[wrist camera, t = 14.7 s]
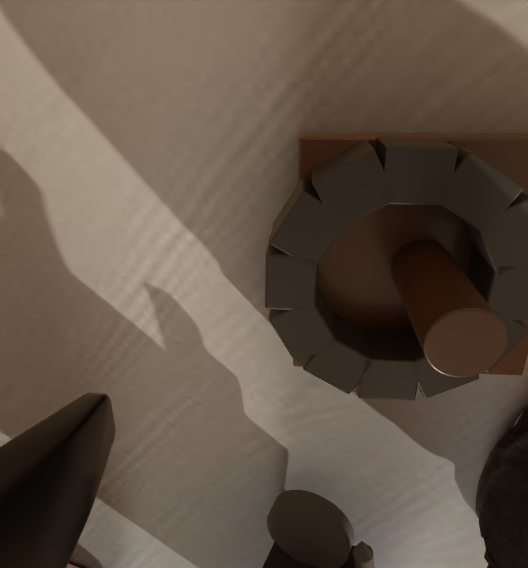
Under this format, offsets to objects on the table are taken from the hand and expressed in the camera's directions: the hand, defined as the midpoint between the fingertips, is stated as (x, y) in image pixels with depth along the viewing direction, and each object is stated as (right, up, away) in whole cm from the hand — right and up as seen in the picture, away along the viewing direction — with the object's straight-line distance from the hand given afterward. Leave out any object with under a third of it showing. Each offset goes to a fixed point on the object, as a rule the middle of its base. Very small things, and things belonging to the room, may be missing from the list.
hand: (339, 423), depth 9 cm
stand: (+4, +4, +8) cm, 10 cm away
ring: (+3, +3, +7) cm, 9 cm away
